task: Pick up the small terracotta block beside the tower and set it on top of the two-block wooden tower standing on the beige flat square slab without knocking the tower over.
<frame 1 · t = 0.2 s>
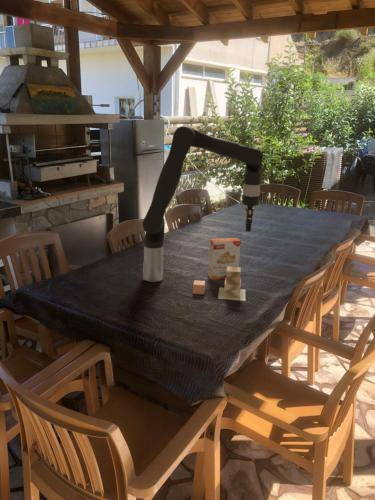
hand: (247, 228, 190), 29 cm above the table, tool pointing down, fingers open, 8 cm apart
beige flat square slab: (231, 296, 188), on the table
oak top block: (232, 281, 185), point 7 cm above the table, touching birch base block
terracotta block: (198, 294, 189), on the table
birch base block: (232, 293, 187), point 1 cm above the table, touching beige flat square slab, oak top block
cracker box: (222, 279, 206), on the table
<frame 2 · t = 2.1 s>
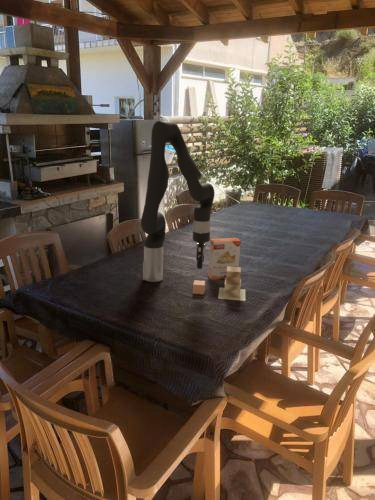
hand: (200, 264, 184), 14 cm above the table, tool pointing down, fingers open, 8 cm apart
nothing on the table moved.
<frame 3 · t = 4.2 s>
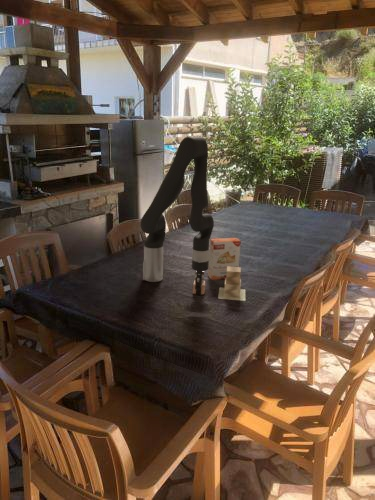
hand: (198, 293, 189), 1 cm above the table, tool pointing down, fingers closed on terracotta block, 5 cm apart
terracotta block: (198, 294, 189), on the table, touching gripper
everything else where it was.
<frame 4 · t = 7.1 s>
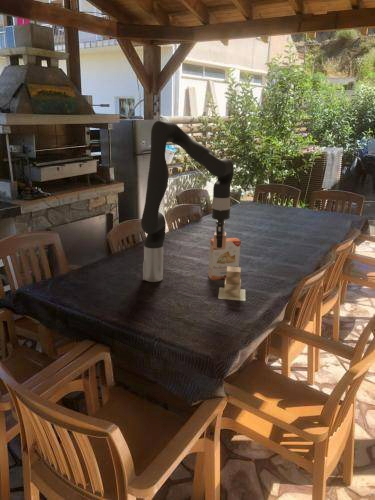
hand: (219, 245, 180), 24 cm above the table, tool pointing down, fingers closed on terracotta block, 5 cm apart
terracotta block: (219, 246, 180), point 24 cm above the table, touching gripper
everything else where it was.
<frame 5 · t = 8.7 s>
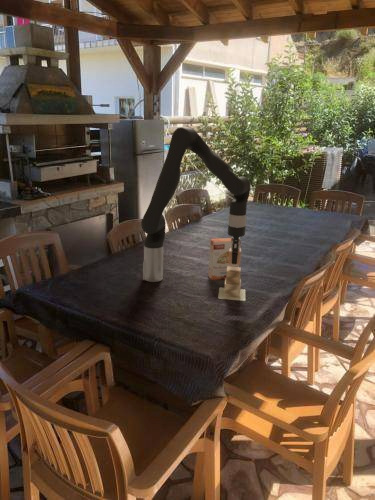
hand: (234, 261, 182), 17 cm above the table, tool pointing down, fingers closed on terracotta block, 5 cm apart
terracotta block: (234, 262, 182), point 17 cm above the table, touching gripper
everything else where it was.
when the fingers open (16 cm above the table, at t = 9.9 s): terracotta block drops 1 cm, resting on oak top block.
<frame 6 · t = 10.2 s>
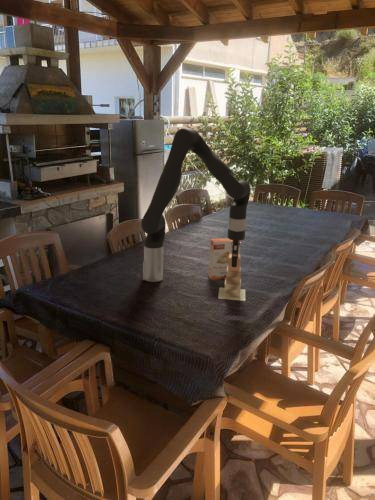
hand: (234, 263, 182), 16 cm above the table, tool pointing down, fingers open, 8 cm apart
oak top block: (232, 281, 185), point 7 cm above the table, touching birch base block, terracotta block
terracotta block: (233, 269, 183), point 13 cm above the table, touching oak top block
everything else where it was.
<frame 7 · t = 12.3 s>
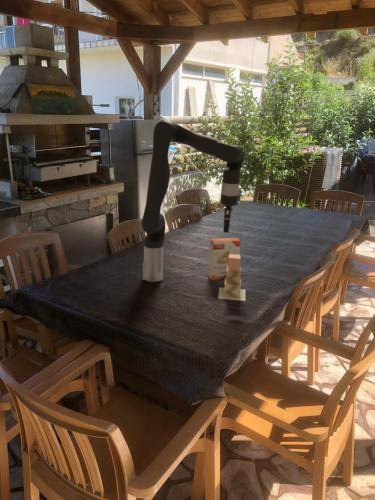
hand: (226, 229, 182), 30 cm above the table, tool pointing down, fingers open, 8 cm apart
nothing on the table moved.
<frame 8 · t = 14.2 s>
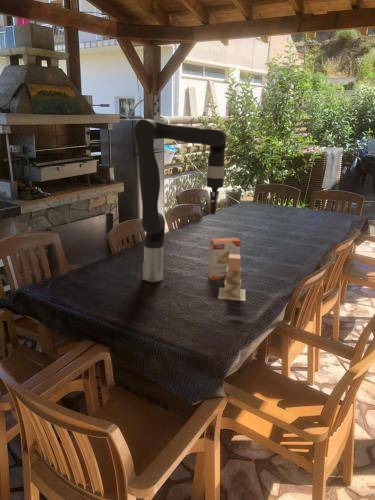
hand: (213, 211, 188), 36 cm above the table, tool pointing down, fingers open, 8 cm apart
nothing on the table moved.
at the end: terracotta block 0.2 cm off-centre on the oak top block, point 6.0 cm above the oak top block's base; oak top block 0.0 cm off-centre on the birch base block, point 6.0 cm above the birch base block's base; terracotta block tilted 0° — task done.
